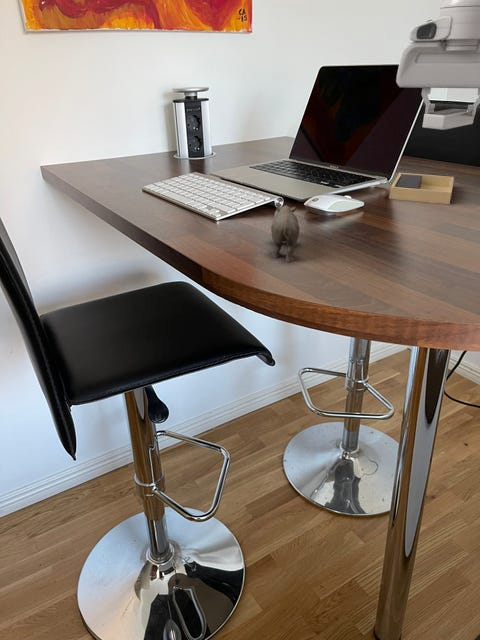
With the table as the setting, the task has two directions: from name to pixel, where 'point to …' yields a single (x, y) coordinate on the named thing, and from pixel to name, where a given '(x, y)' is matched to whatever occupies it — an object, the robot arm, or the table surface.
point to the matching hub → (410, 181)
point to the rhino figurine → (285, 231)
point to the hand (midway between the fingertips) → (449, 115)
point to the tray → (425, 189)
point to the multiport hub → (447, 119)
